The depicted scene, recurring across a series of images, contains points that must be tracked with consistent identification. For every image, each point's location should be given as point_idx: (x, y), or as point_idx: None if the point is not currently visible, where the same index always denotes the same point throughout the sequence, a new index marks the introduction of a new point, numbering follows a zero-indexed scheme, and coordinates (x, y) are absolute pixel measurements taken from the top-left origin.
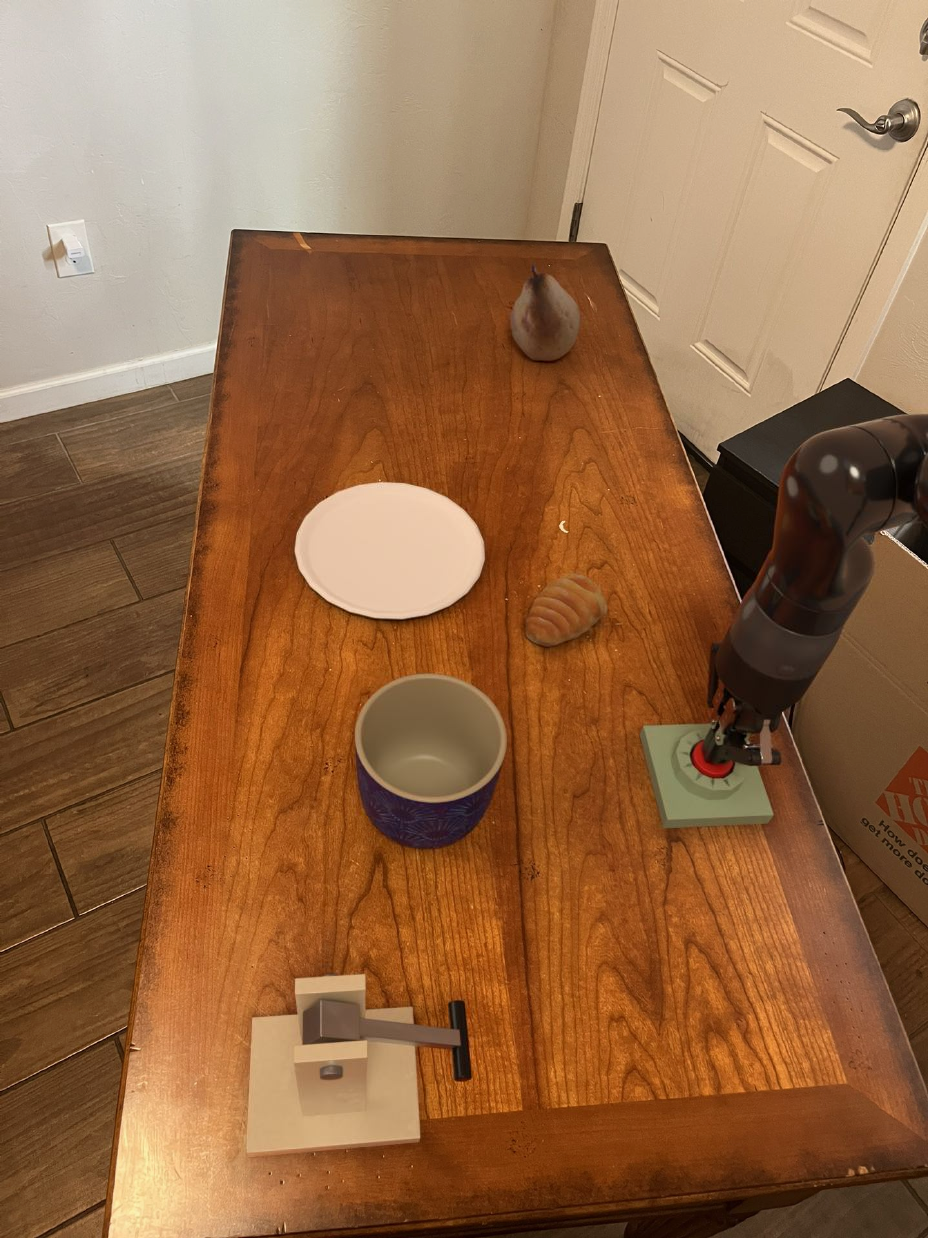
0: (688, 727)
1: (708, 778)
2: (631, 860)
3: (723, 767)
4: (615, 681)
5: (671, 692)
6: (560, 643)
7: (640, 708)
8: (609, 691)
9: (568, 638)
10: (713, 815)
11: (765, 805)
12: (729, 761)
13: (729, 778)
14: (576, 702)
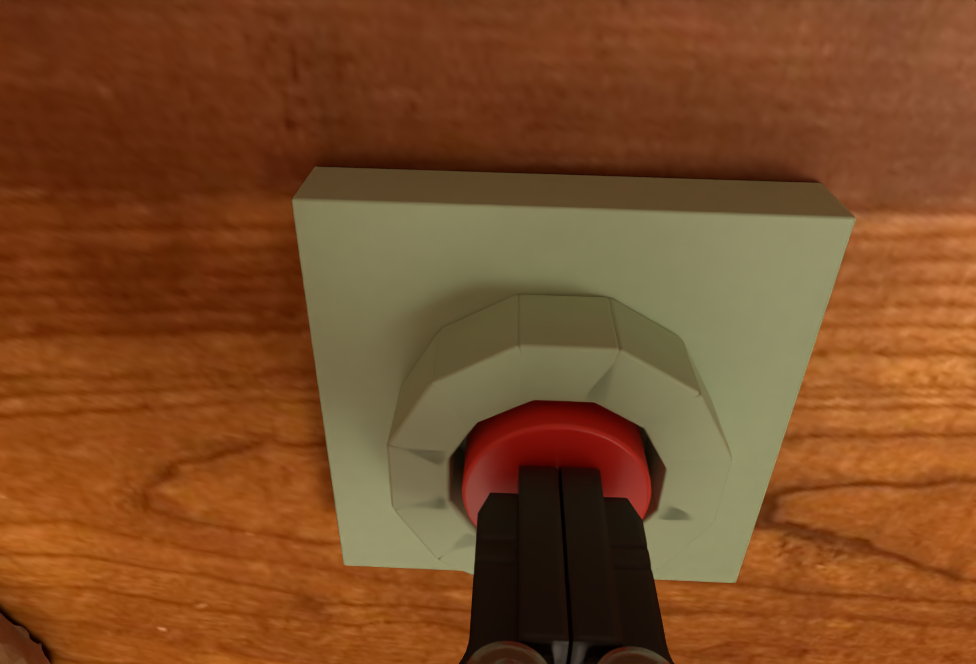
0: (341, 436)
1: (652, 522)
2: (792, 614)
3: (620, 476)
4: (134, 529)
5: (138, 377)
6: (21, 628)
7: (239, 487)
8: (182, 551)
9: (3, 660)
10: (769, 458)
11: (793, 242)
12: (643, 534)
13: (672, 450)
14: (245, 628)
